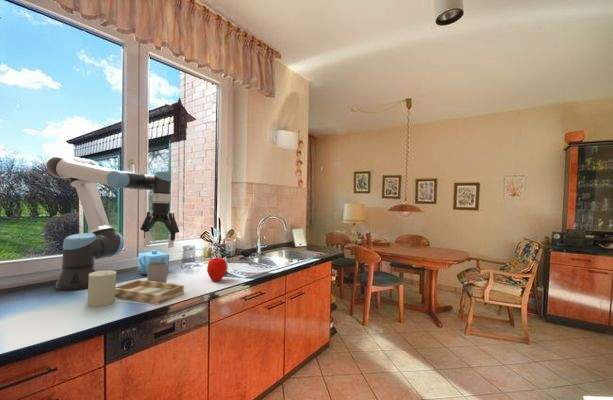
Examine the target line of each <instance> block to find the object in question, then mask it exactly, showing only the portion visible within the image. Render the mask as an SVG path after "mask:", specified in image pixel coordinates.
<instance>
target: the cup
mask: <svg viewBox="0 0 613 400" xmlns="http://www.w3.org/2000/svg"><path fill="white" fill-rule="evenodd" d="M146 277H147V279H146V280H148V281H155V282H163V283H168V281H167V280H168V279H167V277H168V271H167V263H166V262H153V263H149V264H148V272H147V274H146Z"/></svg>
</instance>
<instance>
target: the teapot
mask: <svg viewBox="0 0 613 400" xmlns="http://www.w3.org/2000/svg"><path fill="white" fill-rule="evenodd" d="M137 259H138V261H137V271H138V272H141V275H143V274H144V275H147V272H148V264H149V263H153V262H166V263H167V272H169V267H170V266H169V265H170V254H169V253H165V252H162V251H158V249H155V250H154V249H152V250H151V251H149V252H141V253H138V258H137Z"/></svg>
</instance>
